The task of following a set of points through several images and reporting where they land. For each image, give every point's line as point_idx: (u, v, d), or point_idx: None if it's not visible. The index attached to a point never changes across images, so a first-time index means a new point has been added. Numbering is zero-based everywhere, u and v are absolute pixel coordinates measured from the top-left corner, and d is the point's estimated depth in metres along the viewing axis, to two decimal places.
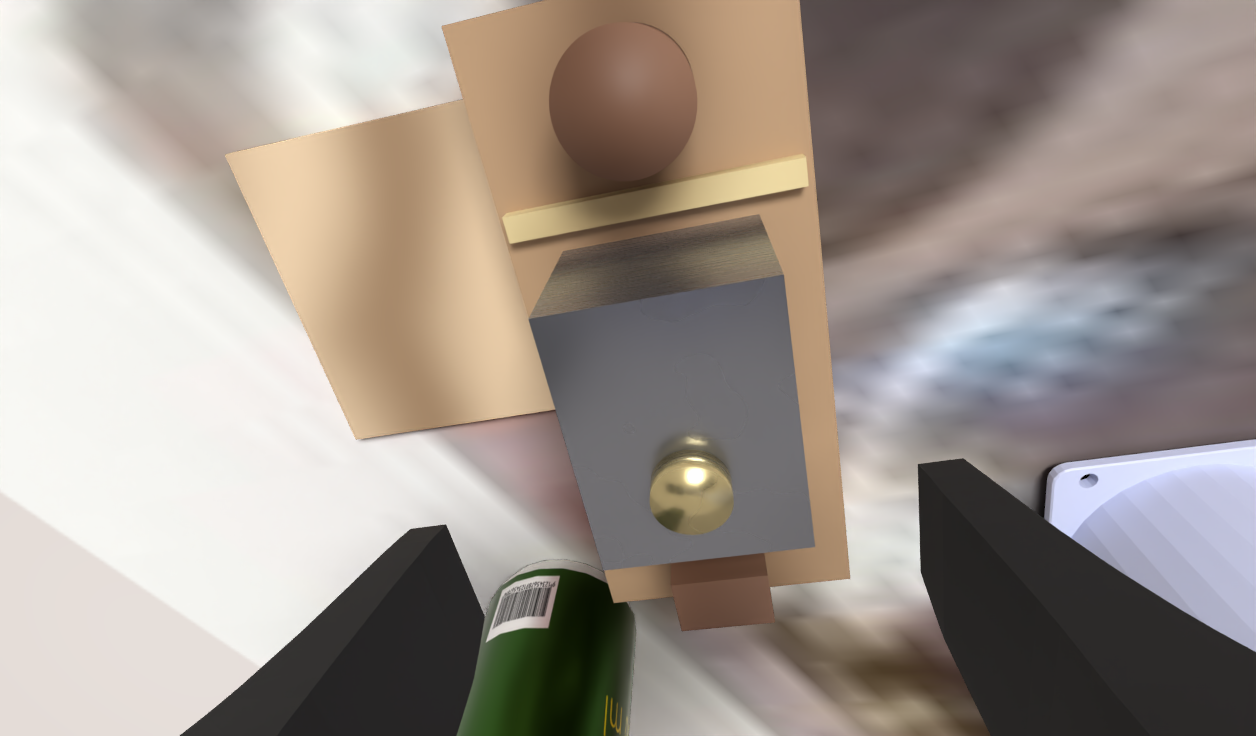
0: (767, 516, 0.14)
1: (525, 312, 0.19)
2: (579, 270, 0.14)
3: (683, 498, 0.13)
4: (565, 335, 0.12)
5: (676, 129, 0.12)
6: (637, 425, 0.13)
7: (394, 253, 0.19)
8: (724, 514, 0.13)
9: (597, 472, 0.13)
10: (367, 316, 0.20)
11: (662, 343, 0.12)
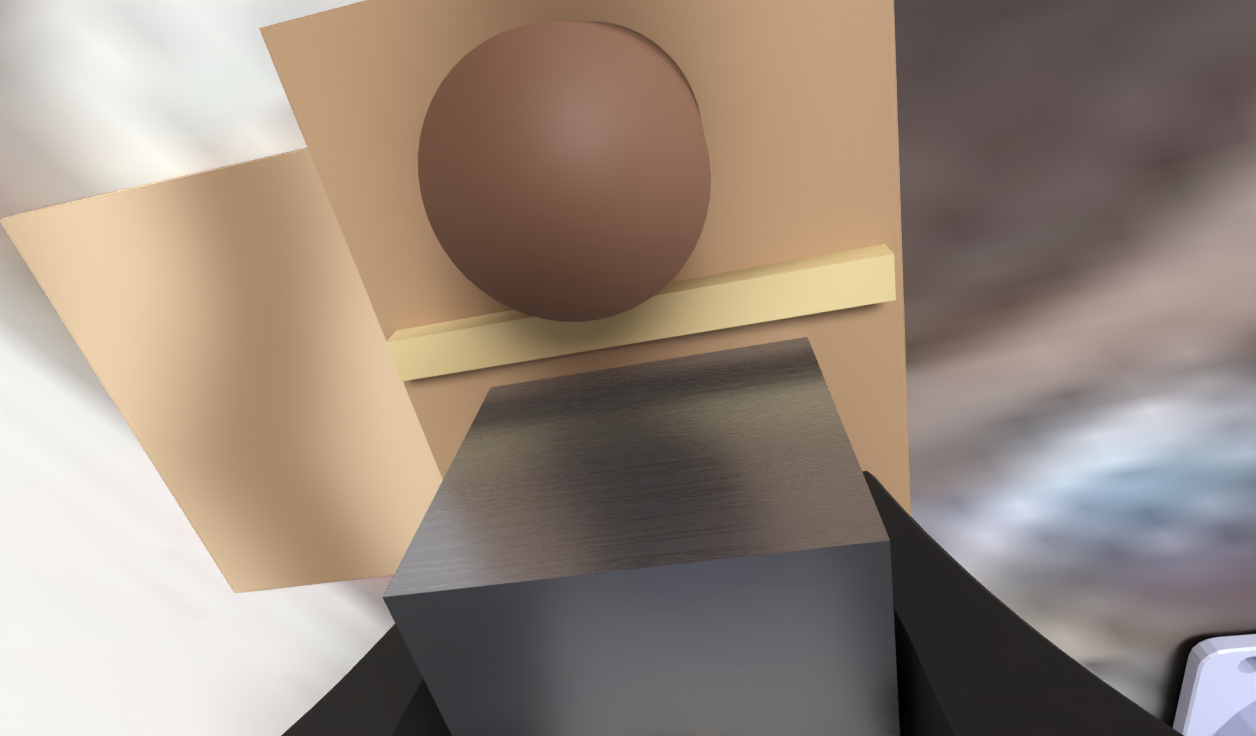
0: None
1: None
2: (504, 447, 0.08)
3: None
4: (456, 624, 0.06)
5: (669, 231, 0.06)
6: None
7: (262, 358, 0.13)
8: None
9: None
10: (233, 440, 0.14)
11: (643, 643, 0.06)
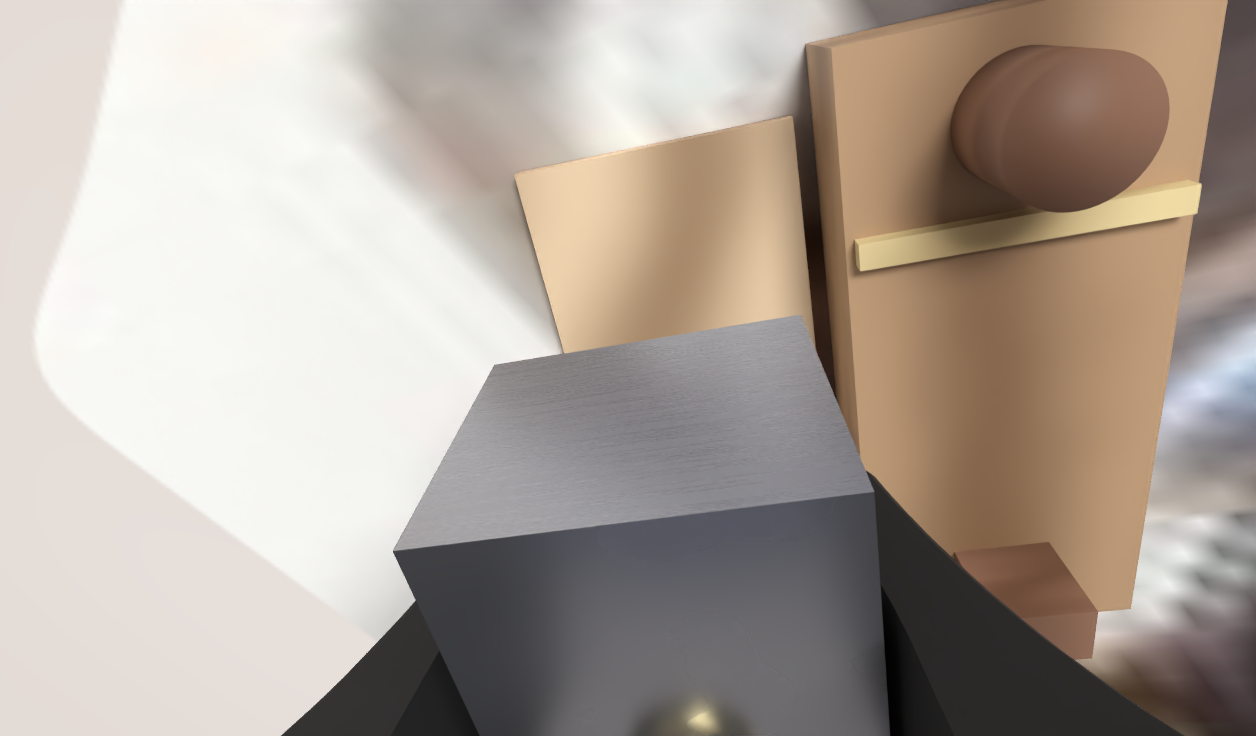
0: None
1: None
2: (508, 418, 0.08)
3: None
4: (463, 577, 0.07)
5: (1134, 159, 0.11)
6: (600, 710, 0.07)
7: (674, 276, 0.18)
8: None
9: None
10: (632, 339, 0.19)
11: (641, 595, 0.07)
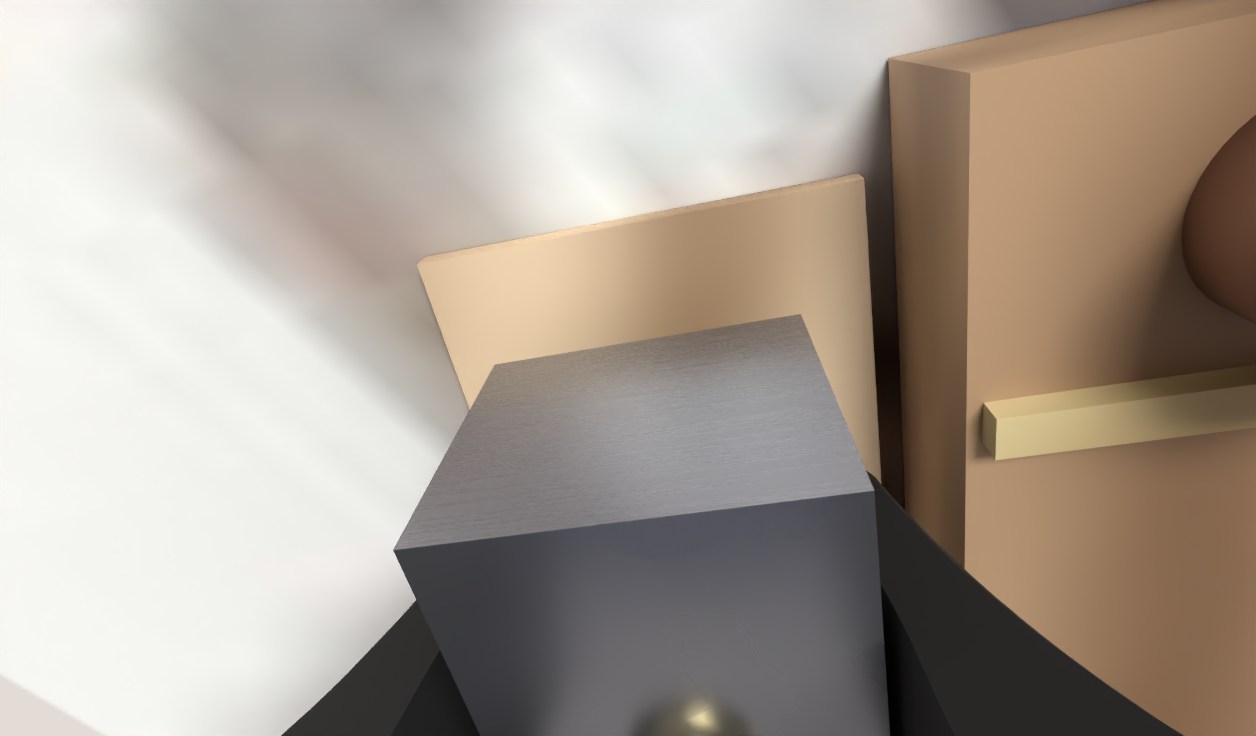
0: None
1: None
2: (508, 417, 0.08)
3: None
4: (463, 576, 0.07)
5: None
6: (600, 709, 0.07)
7: None
8: None
9: None
10: None
11: (641, 594, 0.07)
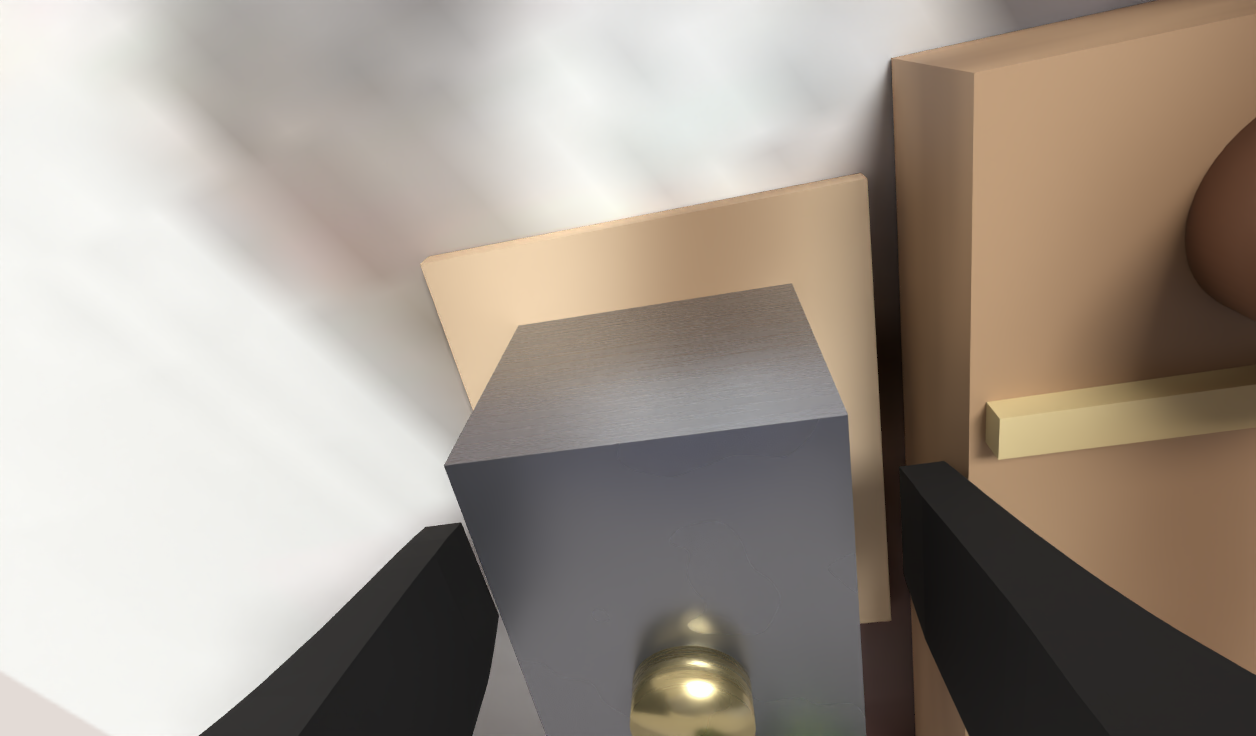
0: (801, 731, 0.09)
1: (863, 495, 0.12)
2: (534, 366, 0.10)
3: (680, 723, 0.09)
4: (502, 489, 0.08)
5: None
6: (613, 611, 0.09)
7: None
8: None
9: (554, 668, 0.09)
10: None
11: (652, 505, 0.08)
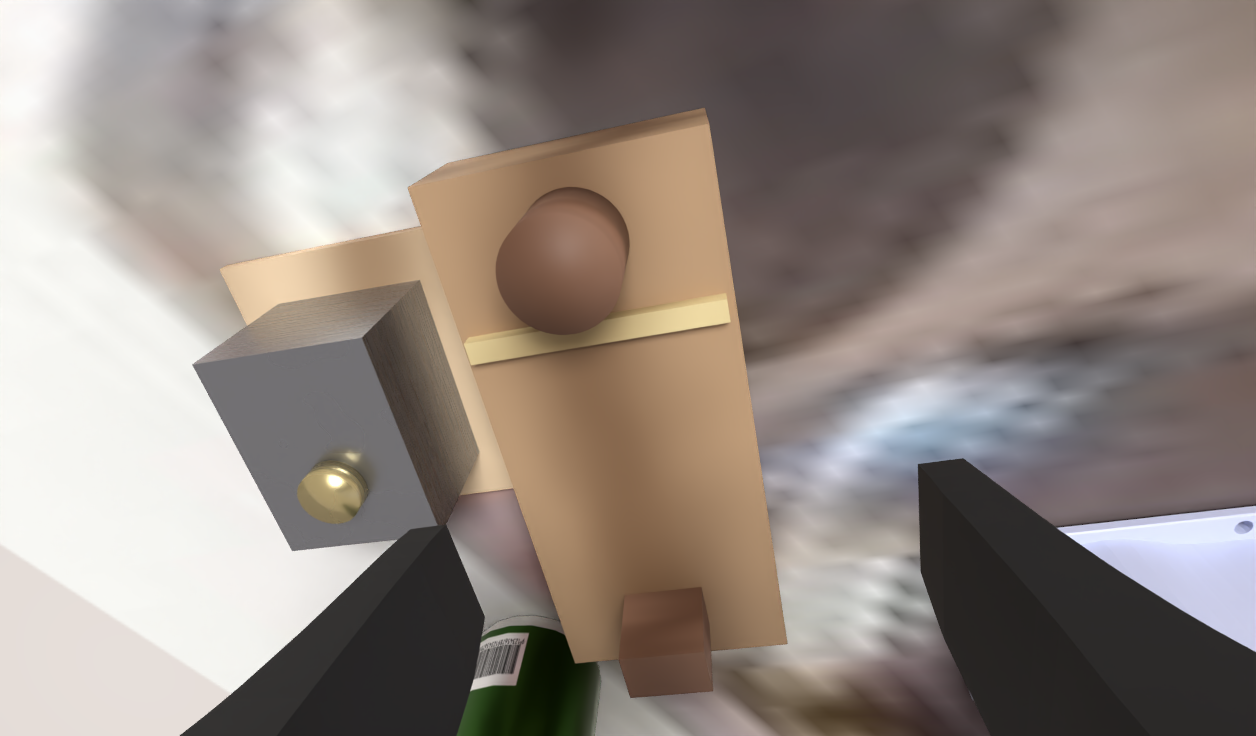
0: (399, 511, 0.18)
1: None
2: (266, 323, 0.18)
3: (321, 496, 0.17)
4: (221, 376, 0.17)
5: (604, 295, 0.14)
6: (289, 442, 0.17)
7: None
8: (354, 508, 0.18)
9: (268, 475, 0.18)
10: None
11: (291, 383, 0.17)
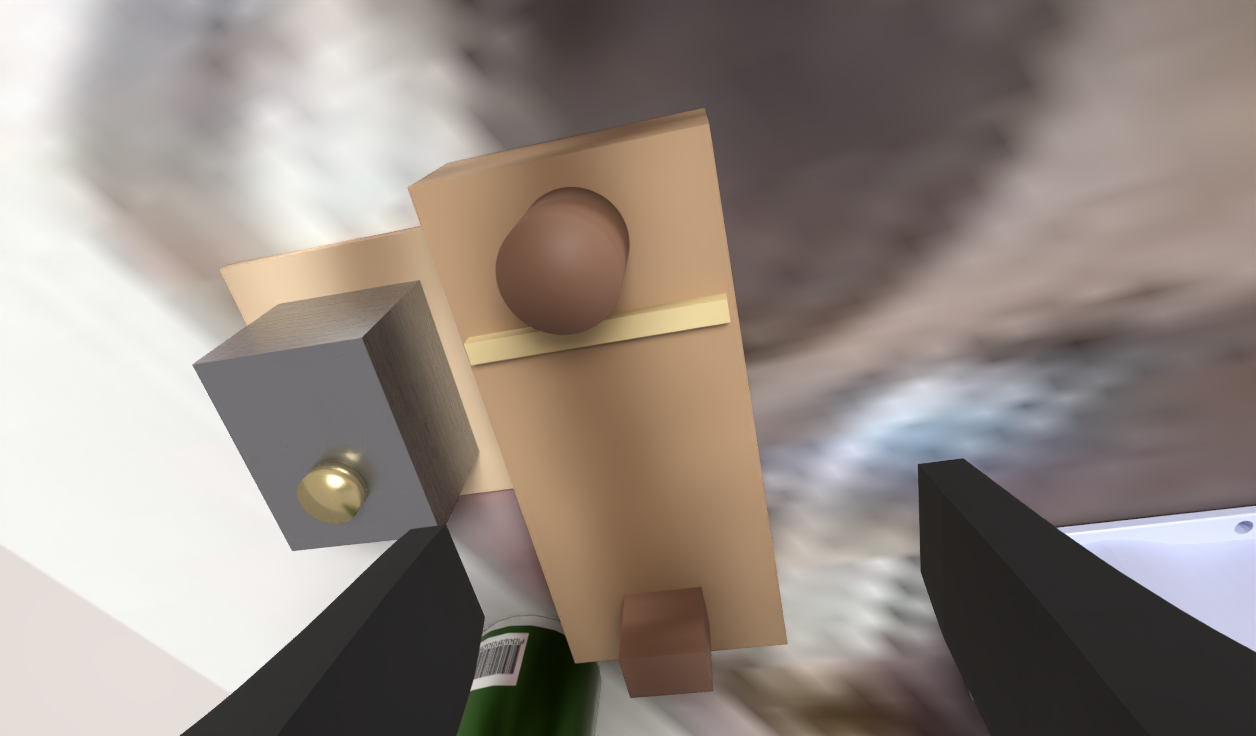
0: (400, 511, 0.18)
1: None
2: (266, 323, 0.18)
3: (321, 496, 0.17)
4: (221, 376, 0.17)
5: (604, 295, 0.14)
6: (289, 442, 0.17)
7: None
8: (354, 508, 0.18)
9: (268, 475, 0.18)
10: None
11: (291, 383, 0.17)
